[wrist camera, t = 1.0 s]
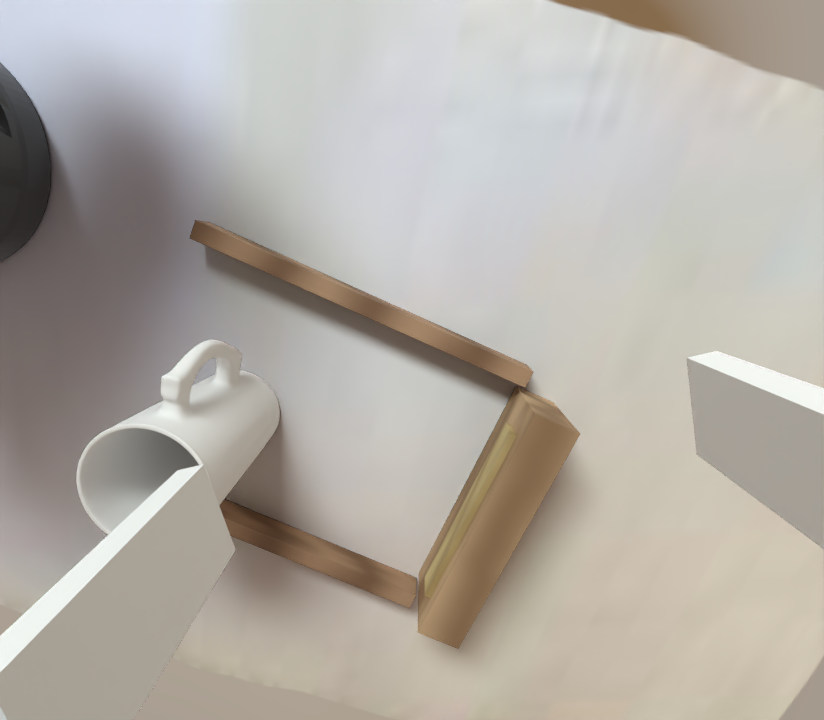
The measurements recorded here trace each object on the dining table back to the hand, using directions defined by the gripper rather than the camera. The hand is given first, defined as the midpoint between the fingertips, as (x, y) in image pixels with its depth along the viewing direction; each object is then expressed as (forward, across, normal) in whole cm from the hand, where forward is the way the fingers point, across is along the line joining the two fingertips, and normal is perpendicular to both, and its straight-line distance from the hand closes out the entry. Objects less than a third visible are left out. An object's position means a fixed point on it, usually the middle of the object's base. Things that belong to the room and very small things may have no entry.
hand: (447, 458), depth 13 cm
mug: (+21, -14, -1) cm, 26 cm away
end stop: (+21, +1, -13) cm, 24 cm away
